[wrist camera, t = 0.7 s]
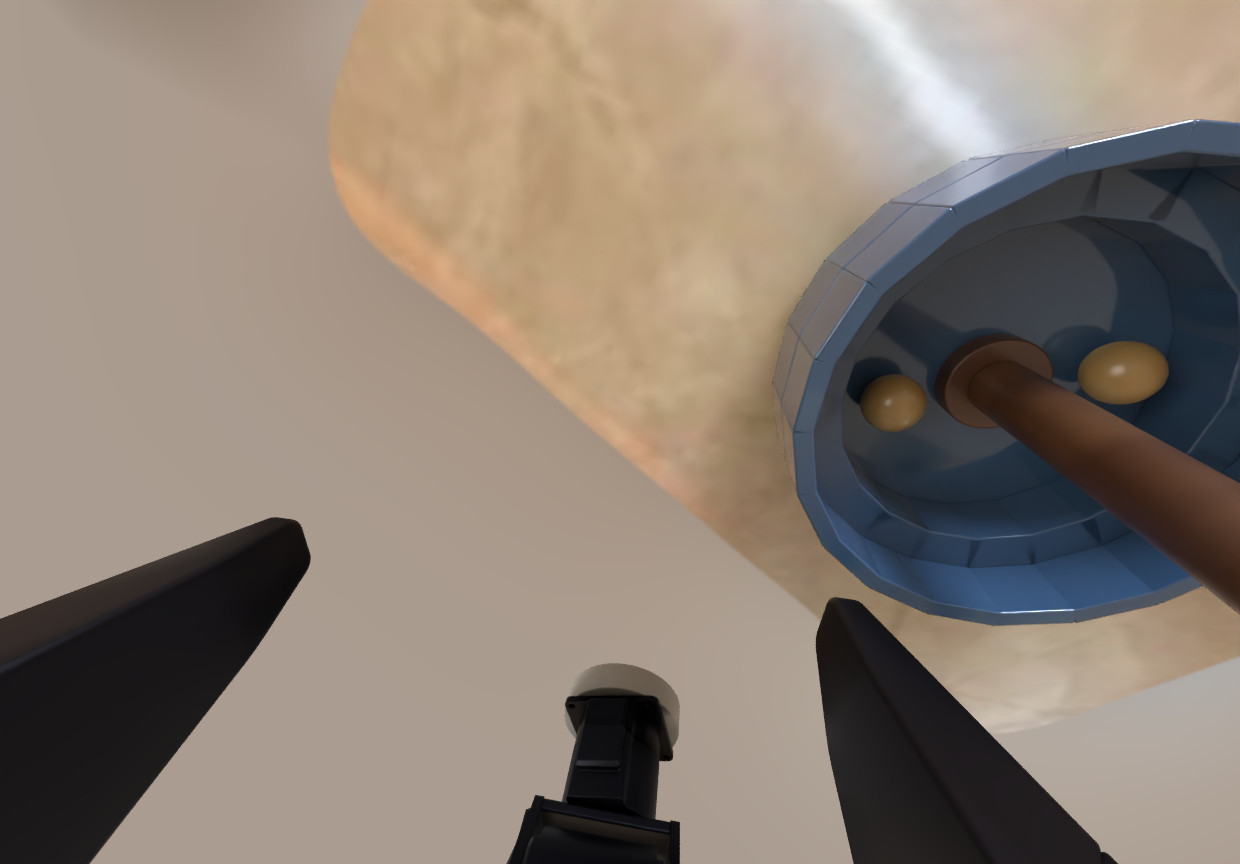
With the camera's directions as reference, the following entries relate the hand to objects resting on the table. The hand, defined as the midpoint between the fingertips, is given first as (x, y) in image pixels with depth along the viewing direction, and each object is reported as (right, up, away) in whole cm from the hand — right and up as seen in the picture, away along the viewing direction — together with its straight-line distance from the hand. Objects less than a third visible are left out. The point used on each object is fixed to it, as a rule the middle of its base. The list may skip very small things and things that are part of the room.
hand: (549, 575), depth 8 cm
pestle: (+14, +4, +9) cm, 17 cm away
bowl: (+14, +5, +9) cm, 17 cm away
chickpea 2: (+17, +4, +7) cm, 19 cm away
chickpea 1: (+11, +3, +9) cm, 14 cm away
